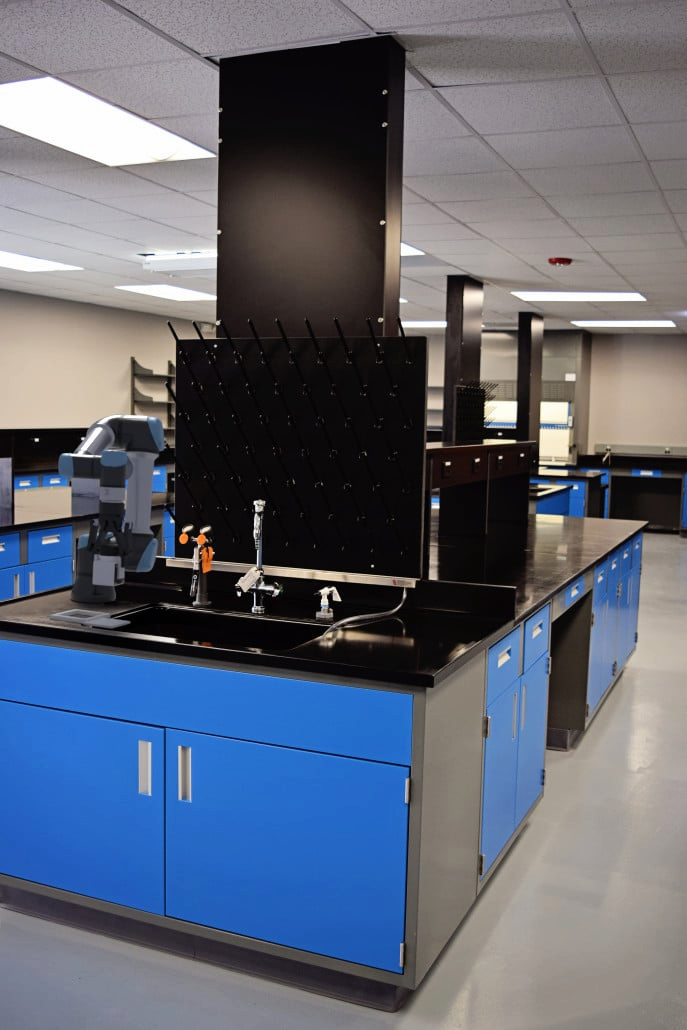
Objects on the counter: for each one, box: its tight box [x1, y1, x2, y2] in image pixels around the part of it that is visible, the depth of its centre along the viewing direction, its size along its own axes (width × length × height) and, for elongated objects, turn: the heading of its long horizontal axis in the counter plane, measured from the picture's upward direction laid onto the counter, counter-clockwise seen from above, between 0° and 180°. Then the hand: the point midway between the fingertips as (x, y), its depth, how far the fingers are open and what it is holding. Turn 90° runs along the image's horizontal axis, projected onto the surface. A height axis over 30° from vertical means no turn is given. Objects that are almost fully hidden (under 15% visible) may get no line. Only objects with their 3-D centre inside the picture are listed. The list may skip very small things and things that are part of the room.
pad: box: [82, 618, 131, 629], centre depth 285 cm, size 10×10×1 cm
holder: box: [49, 608, 112, 624], centre depth 292 cm, size 13×13×1 cm
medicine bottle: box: [93, 544, 126, 587], centre depth 284 cm, size 7×7×12 cm
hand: (108, 576), depth 284 cm, fingers closed on medicine bottle, 7 cm apart
